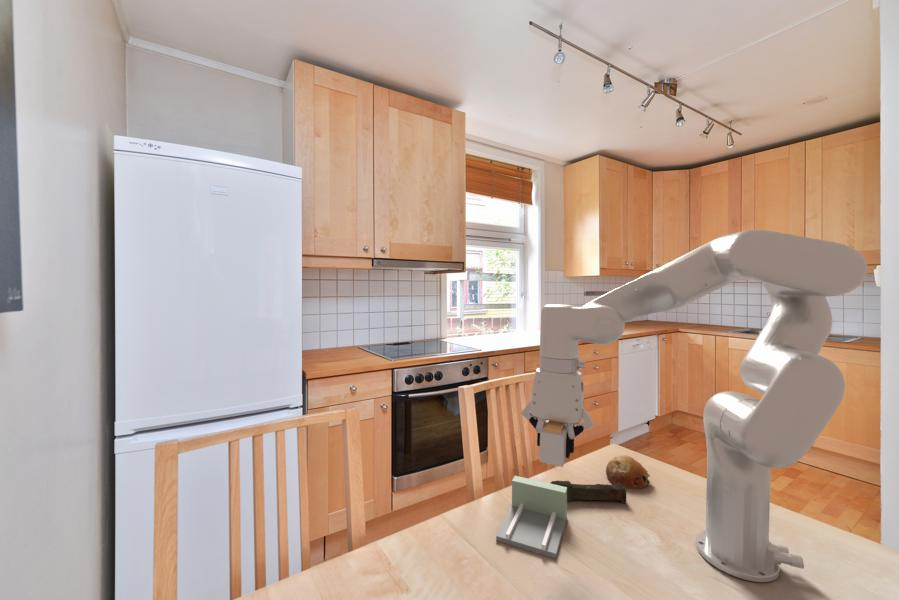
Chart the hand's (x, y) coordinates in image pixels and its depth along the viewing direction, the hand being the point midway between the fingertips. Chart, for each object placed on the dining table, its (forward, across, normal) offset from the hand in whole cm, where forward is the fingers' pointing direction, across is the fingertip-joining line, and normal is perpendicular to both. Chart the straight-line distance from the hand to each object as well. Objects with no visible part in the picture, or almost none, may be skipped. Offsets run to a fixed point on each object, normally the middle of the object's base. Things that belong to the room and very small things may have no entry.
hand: (555, 451), depth 76 cm
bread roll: (+18, -14, -32) cm, 39 cm away
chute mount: (+18, +4, -1) cm, 19 cm away
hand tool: (+18, -5, -17) cm, 25 cm away
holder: (0, 0, 0) cm, 0 cm away
